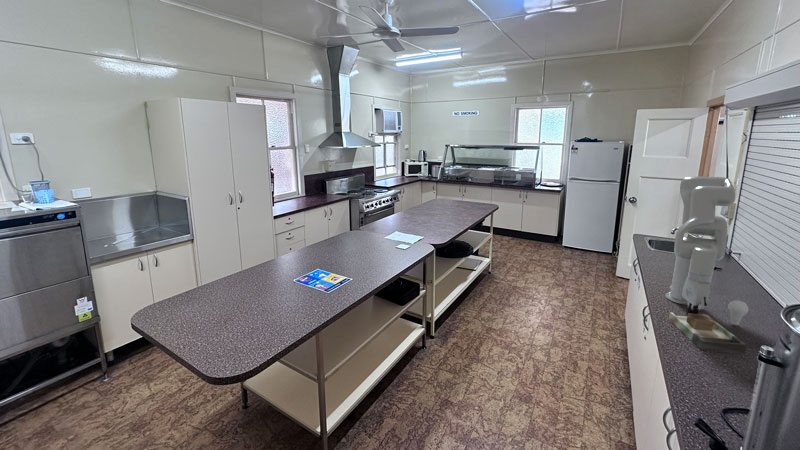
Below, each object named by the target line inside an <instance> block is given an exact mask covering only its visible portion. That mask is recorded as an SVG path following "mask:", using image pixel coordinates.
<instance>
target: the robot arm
mask: <svg viewBox="0 0 800 450" xmlns="http://www.w3.org/2000/svg"><path fill="white" fill-rule="evenodd" d="M679 185H680V186H679V194H680V197H681V200H682V204H683V209H682V210H683V211H682V222H681V225H680V227H679V228H678V229H677V231H676V233H675V236H674V247H673V248H674V249H673V251H674V255H675V262H674V269H673V274H672V280H671V285H669V289H670V291H668V292H666V293H665V298H666V299H667V300H669V301H671V302H673V303H677V304H680V305H686V306H687V311H686V316H688V313H693V314H699V311H704V309H705V307H706V306H708V304H709V301H710V293H711V283H712V278H713V275H714V274H713V273H714V269H715V264H716V261H720V260H723V258H724V257H725V255H726V248H727V247H726V246H727V235H728V234H727V233H728V222H727V220H726V218H724V217H722V216H718V215H716V206H717V207H731V206H732V205H733V204H734V203H735V200H736V190H735V187H734V185H733V182H732V181H731V179H729V178H728V177H724V176H695V175H694V176H687V177H683V179H682V180H681V181H680V184H679ZM685 234H686V235H687V234H688V235H692V236H685ZM693 235H695V236H706V237H710V238H703V237H695V236H693Z"/></svg>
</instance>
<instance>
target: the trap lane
mask: <svg viewBox="0 0 800 450" xmlns="http://www.w3.org/2000/svg"><path fill="white" fill-rule="evenodd" d="M705 315H706V316H707V317H709V318H710V319H711V320H712V321H714V323H713V328H712V331H711V330H699V329H694V328H693V327H692V326H691V325H689V324H688V323H687V322H686V321H687V315H686V316H685V315H684V316H682V315H676V313H674V312H669V315H668V320H669V321H670V322H671V323H672V324H673V325H674V326H675V327H676V328H677V329H678V330H679V331H680V332H681V333H683V334H684V335H685V336H686V337H687V338H688V339H689V341H691V342H692V343H693V344H694V346H696V347H698V349H700V350H701V351H708V352H709V351H710V352H723V353H733V354H746V350H747V347H748V345H747V344H746V343H745V342H744V341H742V340H741V339H740V338H738V337H737V336H735V334H733V333H732V332H730V331H729V330H728V329H726V328H725V327H724V326H722V325H721V324H720V323H718V322H717V321H716V320H715V319H713V318H712V317H711V316H709V315H708V314H705Z"/></svg>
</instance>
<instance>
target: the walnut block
mask: <svg viewBox="0 0 800 450" xmlns="http://www.w3.org/2000/svg"><path fill="white" fill-rule="evenodd" d="M706 315H707V314H704V313H698V314H693V313H688V316H687V315H686V316H687V321H686V322H687V323H688V324H689V325H691V326H692V327H693V328H694V329H699V330H711V331H712V328H713V323H714V321H712V320H711V319H710V318H709V317H710V316H709V317H707V316H706Z"/></svg>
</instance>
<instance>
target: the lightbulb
mask: <svg viewBox="0 0 800 450" xmlns="http://www.w3.org/2000/svg"><path fill="white" fill-rule="evenodd" d="M727 309H728V311H729V314H730V324H731V325H732V326H738V325H740V323H741V320H742V318H743V317H744V316H745V315H747V314H748V312H749V307H748V305H747V304H746V303H745V302H744V301H741V300H731V301H730V302H729V303H728V305H727Z"/></svg>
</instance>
